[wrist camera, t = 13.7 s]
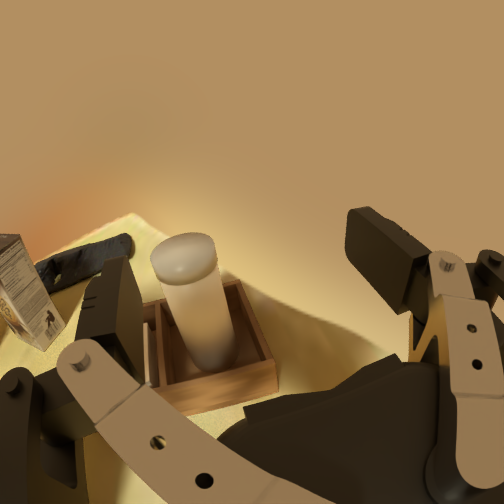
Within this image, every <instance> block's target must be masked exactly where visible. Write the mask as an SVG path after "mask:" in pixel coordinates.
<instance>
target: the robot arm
mask: <svg viewBox="0 0 504 504" xmlns="http://www.w3.org/2000/svg"><path fill="white" fill-rule="evenodd" d="M345 252H346V256H347V258H348V260H349V261H350V262H351V263H352V265H354V267H355V268H356V269H357V270H358V271H359V272H360V273H361V274H362V275H363V277H364V278H365V279H366V280H367V281H368V282H369V283H370V284H371V286H372V287H373V288H374V289H375V290H376V291H377V292H378V293H379V295H380V296H381V297H382V298H383V299H384V300H385V301H386V302H387V304H388V305H389V306H390V307H391V308H392V309H393V311H394V312H395V313H396V314H397V315H399V314H401V313H404V312H406V311H409V310H410V311H411V312H412V313H411V316H410V319H409V357H408V362H401V360H400V359H399V358H398V356H397V355H396V354H395V353H394V354H392V355H390V356H388V357H385V358H383V359H381V360H379V361H376V362H374V363H372V364H369V365H367V366H364V367H363V368H361V369H360V370H359V371H357V372H356V373H355V374H353V375H352V376H350V377H349V378H348V379H346V380H345V381H343V382H342V383H341V384H339V385H338V386H336V387H335V388H333V389H331V390H327V391H320V392H311V393H302V394H291V395H283V396H280V397H277V398H273V399H270V400H267V401H263V402H259V403H256V404H252V405H248V406H244V407H243V410H244V414H245V418H244V419H242V420H240V421H239V422H237V423H235V424H234V425H232V426H231V427H229V428H228V429H227V430H226V431H225V432H223V433H222V434H221V435H220V436H219V437H218V438H217V439H215V438H213V437H212V436H211V435H209V434H208V433H206V432H205V431H204V430H202V429H201V428H200V427H198V426H197V425H196V424H194V423H193V422H192V421H190V420H189V419H188V418H186V417H185V416H184V415H183V414H181V413H180V412H179V411H178V410H176V409H175V408H174V407H173V406H171V405H170V404H169V403H168V402H167V401H165V400H164V399H163V398H162V397H161V396H160V395H158V394H157V393H156V392H155V391H154V390H153V389H151V388H150V387H149V386H148V385H146V383H145V365H144V335H143V303H142V298H141V294H140V291H139V288H138V285H137V283H136V280H135V277H134V274H133V271H132V269H131V266H130V263H129V260H128V258H127V256H126V255H123V256H119V257H115V258H110V259H106V260H105V261H104V264H103V268H102V273H101V276H98V277H94V278H93V279H92V280H91V282H90V283H89V285H88V286H87V287H86V290H85V294H84V298H83V300H84V301H83V302H82V306H81V309H82V310H81V311H80V315H79V320H78V325H77V330H76V335H75V340H74V342H73V343H71V344H69V345H68V346H67V347H66V348H64V350H63V351H62V352H61V353H60V355H59V357H58V360H57V367H55V368H53V369H51V370H49V371H47V372H45V373H42V374H40V375H38V376H36V377H34V376H33V375H32V373H31V372H30V371H29V370H28V369H26V368H24V367H17V368H13V369H11V370H10V371H8V372H7V373H6V374H5V375H4V376H3V377H2V378H1V380H0V504H89V499H88V492H87V484H86V474H85V463H84V449H83V437H85V436H87V435H90V434H92V433H94V432H97V431H98V432H99V433H100V435H101V436H102V437H103V438H104V439H105V441H106V442H107V443H108V444H109V445H110V446H111V447H112V449H113V450H114V451H115V452H116V453H117V454H118V455H119V456H120V457H121V459H122V460H123V461H124V462H125V463H126V464H127V465H128V466H129V467H130V468H131V469H132V470H133V471H134V472H135V473H136V474H137V475H138V476H139V477H140V478H141V479H142V480H143V481H144V482H145V483H146V484H147V485H148V486H149V487H150V488H151V489H152V490H153V491H154V492H156V493H157V494H158V495H159V496H160V497H161V498H162V499H163V500H164V501H166V502H167V503H168V504H504V324H503V323H502V322H501V320H500V319H499V318H498V317H497V316H496V315H495V314H494V313H493V312H492V311H491V310H492V308H493V306H494V304H495V302H496V300H497V297H498V295H499V296H500V297H501V298H502V299H503V300H504V256H503V255H501V254H500V253H498V252H496V251H492V250H482V251H481V252H480V253H479V255H478V258H477V261H476V263H464V261H463V260H462V259H461V258H459V257H458V256H457V255H455V254H453V253H450V252H446V251H435V252H431V251H430V250H429V249H428V248H427V247H425V246H424V245H423V244H422V243H420V242H419V241H418V240H417V239H415V238H414V237H413V236H412V235H410V234H409V233H408V232H407V231H405V230H403V229H402V228H401V227H400V226H399V225H397V224H396V223H395V222H393V221H391V220H389V219H386V218H384V217H383V216H381V215H380V214H379V213H377V212H376V211H375V210H373V209H372V208H370V207H367V206H366V207H361V208H355V209H351V210H349V212H348V215H347V227H346V237H345Z"/></svg>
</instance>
